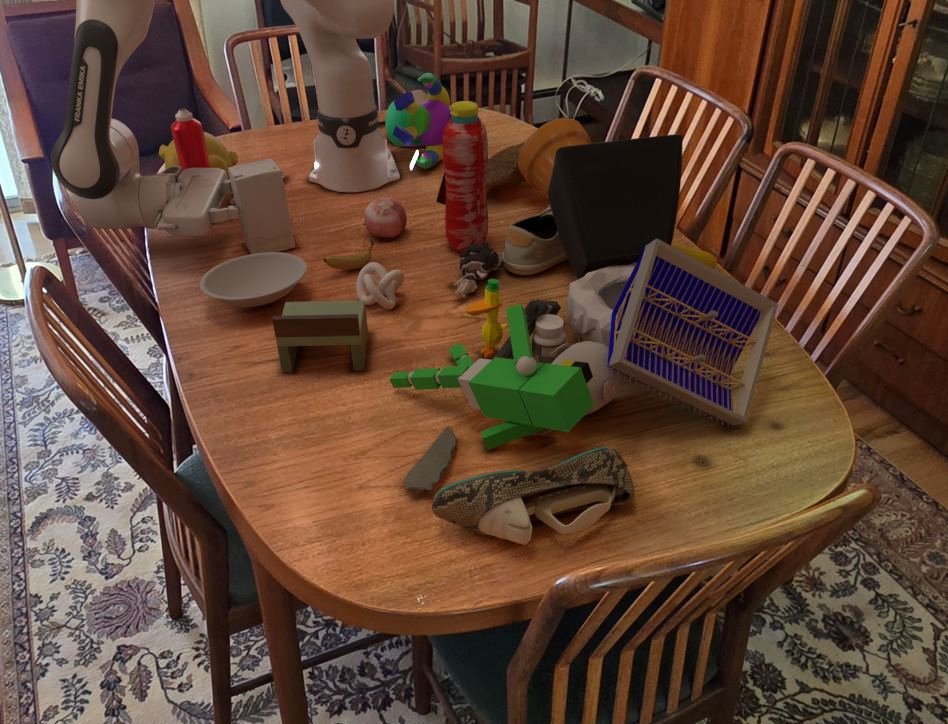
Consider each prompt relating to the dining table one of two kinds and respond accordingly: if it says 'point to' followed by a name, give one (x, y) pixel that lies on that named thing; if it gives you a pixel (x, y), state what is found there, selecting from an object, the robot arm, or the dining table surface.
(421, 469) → the stone
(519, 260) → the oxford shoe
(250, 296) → the dish
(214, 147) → the sculpture
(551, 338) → the pill bottle
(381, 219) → the onion
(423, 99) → the ice cream cone
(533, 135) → the flower pot
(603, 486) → the ballet flat
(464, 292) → the figurine
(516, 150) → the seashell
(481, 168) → the water bottle
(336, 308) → the shelf
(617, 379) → the toy
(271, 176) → the cosmetic box
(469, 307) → the toy figure
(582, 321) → the bowl
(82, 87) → the robot arm
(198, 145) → the bottle
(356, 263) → the banana
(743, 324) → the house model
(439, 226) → the dining table surface
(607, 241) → the flower pot
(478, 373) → the toy
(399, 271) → the knot
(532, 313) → the handgun
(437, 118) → the figurine
